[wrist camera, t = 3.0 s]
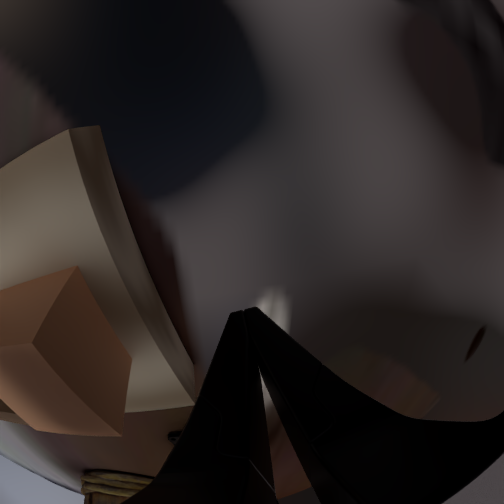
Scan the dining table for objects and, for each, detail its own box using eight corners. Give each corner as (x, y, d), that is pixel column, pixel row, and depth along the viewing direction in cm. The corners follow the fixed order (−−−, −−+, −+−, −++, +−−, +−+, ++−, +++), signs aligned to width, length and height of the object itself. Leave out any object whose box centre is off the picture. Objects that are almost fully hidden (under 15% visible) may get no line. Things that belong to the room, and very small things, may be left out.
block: (132, 359, 11) (122, 436, 7) (54, 367, 10) (35, 430, 7) (77, 265, 8) (31, 343, 5) (0, 290, 8) (-41, 350, 5)
